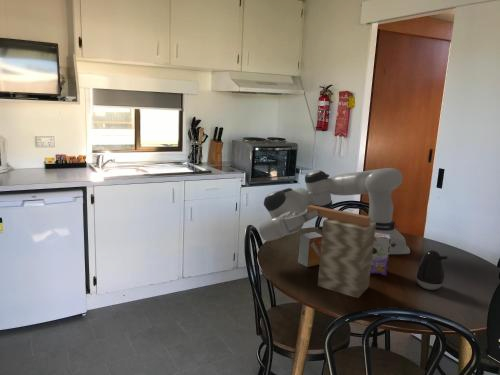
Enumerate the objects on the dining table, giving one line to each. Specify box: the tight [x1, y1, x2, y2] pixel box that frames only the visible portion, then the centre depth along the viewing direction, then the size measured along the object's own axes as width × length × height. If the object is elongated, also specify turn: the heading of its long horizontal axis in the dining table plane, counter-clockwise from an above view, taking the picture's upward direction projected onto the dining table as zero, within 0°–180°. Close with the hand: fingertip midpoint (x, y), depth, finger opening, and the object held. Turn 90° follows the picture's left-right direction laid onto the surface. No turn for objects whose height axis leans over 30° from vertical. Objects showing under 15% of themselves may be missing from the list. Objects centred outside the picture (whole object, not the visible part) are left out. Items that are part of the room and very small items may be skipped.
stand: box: [317, 218, 376, 299], centre depth 160 cm, size 16×12×26 cm
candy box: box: [370, 233, 391, 276], centre depth 177 cm, size 14×6×16 cm, turn 71°
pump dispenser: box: [415, 249, 449, 291], centre depth 164 cm, size 10×10×15 cm
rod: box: [306, 205, 370, 226], centre depth 160 cm, size 24×3×3 cm, turn 57°
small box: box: [297, 231, 322, 268], centre depth 182 cm, size 8×6×13 cm
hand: (321, 210), depth 163 cm, fingers open, 4 cm apart
